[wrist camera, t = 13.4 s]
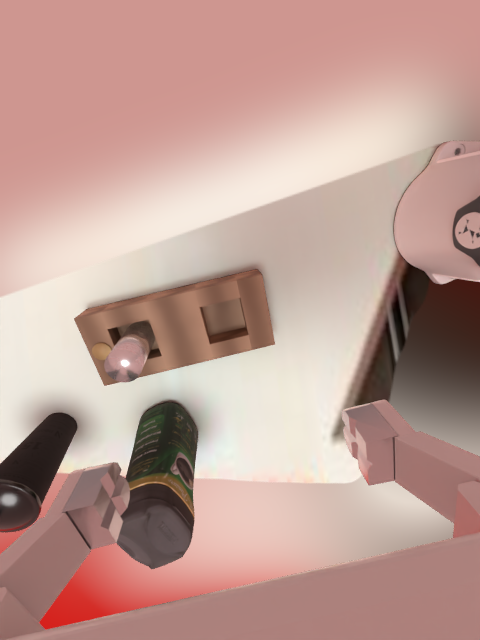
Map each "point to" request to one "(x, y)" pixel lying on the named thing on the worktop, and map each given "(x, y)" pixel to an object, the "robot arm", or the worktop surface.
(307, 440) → the worktop surface
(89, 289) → the worktop surface
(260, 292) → the board
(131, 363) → the pin
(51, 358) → the worktop surface
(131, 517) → the coffee jar
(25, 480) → the drinking cup
